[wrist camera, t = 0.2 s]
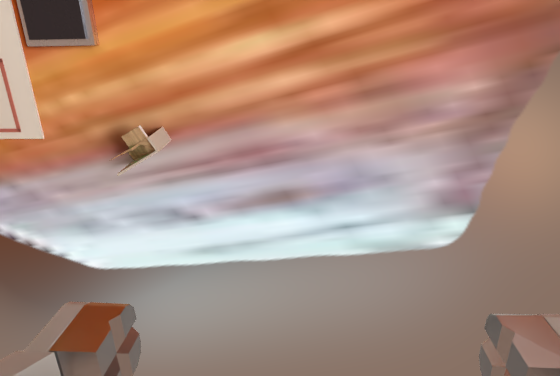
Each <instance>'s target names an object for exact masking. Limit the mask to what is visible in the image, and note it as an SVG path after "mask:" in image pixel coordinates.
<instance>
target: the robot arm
mask: <svg viewBox="0 0 560 376" xmlns="http://www.w3.org/2000/svg"><path fill="white" fill-rule="evenodd" d="M135 320H136V315H135V311H134V307H133V306H131V305H130V304H112V303H93V302H90V303H86V302H69V303H66V304H64V305H63V306H62V307H61V308H60V309H59V311H58V312H57V313H56V314H55V315H54V316H53V318H52V319H51V320H50V321H49V322H48V323H47V325H46V326H45V327H44V328H43V329H42V331H40V333H39V334H38V335H37V336H36V337H35V339H34V340H33V341H32V342H31V343H30V344H29V345H28V347H27V348H26V349H25V350H24V351H16V352H14V353H12V354H10V355H8V356H6V357H4V358H3V359H1V360H0V376H133V374H134V372H135V370H136V368H137V365H138V362H139V357H140V353H141V341H140V335H139V333H138V332H137V331H136V330H135V329H134V328H133V327H132V325H133V324H134V322H135ZM485 330H486V332H487V334H488V335H489V338H488V339H486V340H485V341H484V342H483V343H482V344H481V348H480V354H479V359H480V370H481V373H482V376H560V314H537V315H524V314H521V315H520V314H490V315H489V316H488V318H487V320H486V324H485Z"/></svg>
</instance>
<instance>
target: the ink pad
mask: <svg viewBox="0 0 560 376" xmlns="http://www.w3.org/2000/svg"><path fill="white" fill-rule="evenodd" d="M16 1H17V5H18V9H19V13H20V18H21V22H22V26H23V30H24V34H25V39H26V43H27V46H81V45H99V40H98V34H97V28H96V22H95V17H94V11H93V5H92V0H16Z"/></svg>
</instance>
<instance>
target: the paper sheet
mask: <svg viewBox="0 0 560 376" xmlns="http://www.w3.org/2000/svg"><path fill="white" fill-rule="evenodd" d="M0 139H44V134H43V130H42V126H41V122H40V117H39V113H38V109H37V105H36V101H35V97H34V93H33V89H32V84H31V80H30V76H29V72H28V68H27V64H26V60H25V56H24V51H23V47H22V43H21V39H20V35H19V31H18V27H17V23H16V18H15V14H14V10H13V6H12V2H11V0H0Z"/></svg>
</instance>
